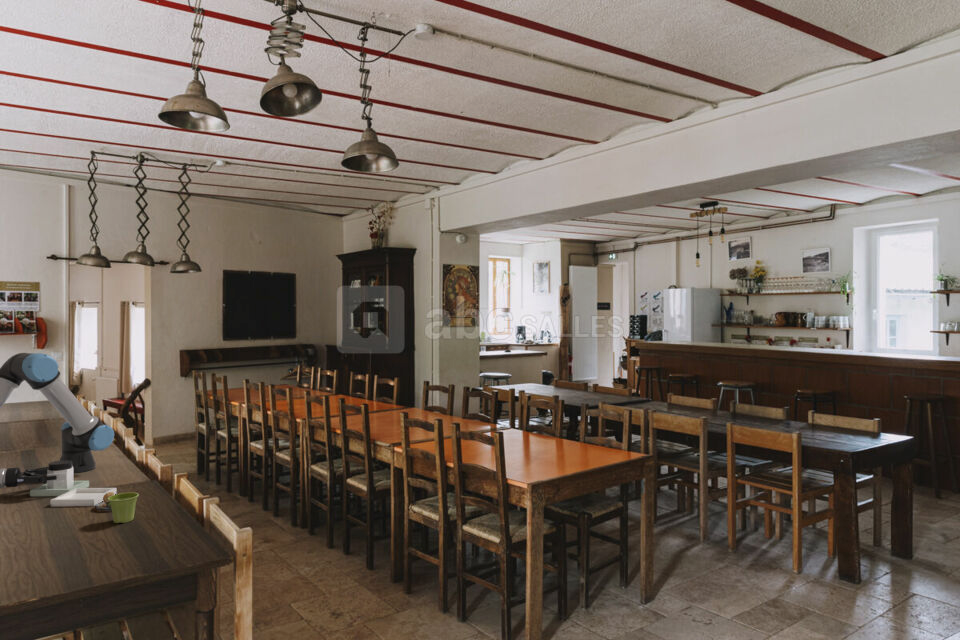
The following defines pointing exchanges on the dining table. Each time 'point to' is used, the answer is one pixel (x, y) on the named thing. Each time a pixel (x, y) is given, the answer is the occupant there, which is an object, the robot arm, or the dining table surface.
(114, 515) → the plant pot
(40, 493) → the pale green square frame
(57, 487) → the jar
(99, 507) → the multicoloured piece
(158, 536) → the dining table surface
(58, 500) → the tray
